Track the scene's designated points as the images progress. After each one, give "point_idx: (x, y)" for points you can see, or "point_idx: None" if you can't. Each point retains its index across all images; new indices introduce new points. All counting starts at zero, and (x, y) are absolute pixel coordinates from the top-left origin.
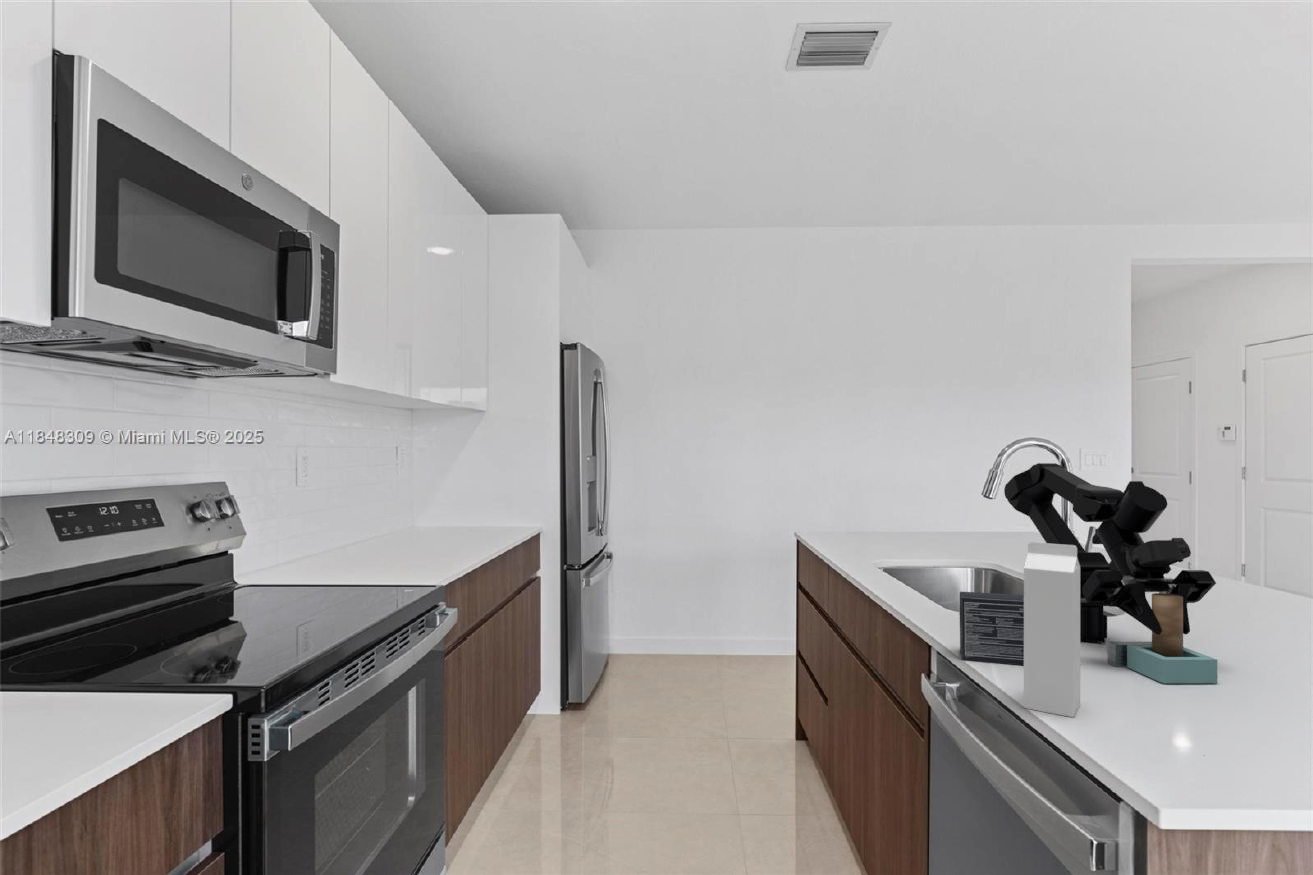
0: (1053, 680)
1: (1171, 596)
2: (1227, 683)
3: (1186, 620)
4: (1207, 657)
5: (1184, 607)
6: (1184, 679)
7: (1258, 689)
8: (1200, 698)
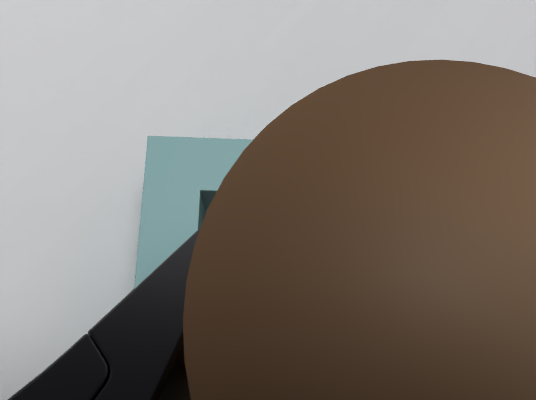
0: None
1: (435, 226)
2: (104, 195)
3: (184, 264)
4: (169, 178)
5: (96, 363)
6: None
7: (40, 113)
8: (375, 31)
